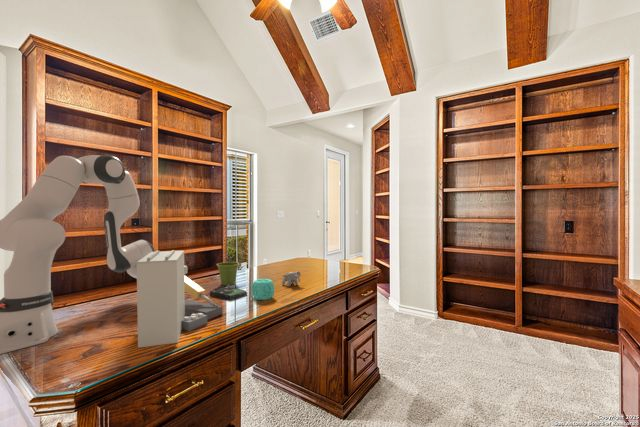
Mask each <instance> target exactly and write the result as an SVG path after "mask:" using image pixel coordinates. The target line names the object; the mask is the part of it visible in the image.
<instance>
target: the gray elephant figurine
mask: <svg viewBox="0 0 640 427" xmlns="http://www.w3.org/2000/svg"><path fill="white" fill-rule="evenodd" d="M282 277H283V279H282V281H281V285H282V286H285V284H286V282H287V284H286V286H287V287H288V288H290V287H291V284H292V283H293V284H294V285H295V286H298V284H299V283H301V279H300V277H301V272H300V271H294V272H293V271H290V272H287V273H285V274H283V275H282Z"/></svg>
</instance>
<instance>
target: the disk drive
mask: <svg viewBox="0 0 640 427" xmlns="http://www.w3.org/2000/svg"><path fill="white" fill-rule="evenodd" d="M247 295H248V292H247V290H244V289H239V288H234V287H230V286H224V287H220V288H217V289H216V290H215V289H214V290H210V291H209V296H211V297H215V298H220V299H223V300H227V301H233V300H237V299H240V298H243V297H245V296H247Z"/></svg>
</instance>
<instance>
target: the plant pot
mask: <svg viewBox="0 0 640 427" xmlns="http://www.w3.org/2000/svg"><path fill="white" fill-rule="evenodd" d="M239 264H240V262H238V261H226V262H220V263H219V262H218V263H216V266H217V269H218V272H219V278H220V283H221V285H222V286H232V285H235V284H236V279H237V270H238V267H239Z"/></svg>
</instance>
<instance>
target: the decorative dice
mask: <svg viewBox="0 0 640 427" xmlns="http://www.w3.org/2000/svg"><path fill="white" fill-rule="evenodd" d="M251 293H252V296H253V298H254V300H257V301H267V300H270V299H272V298H273V297H274V295H275V285H274V282H273V280H272V279H269V278H259V279H255V280H254V281H253V283H252V285H251Z"/></svg>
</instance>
